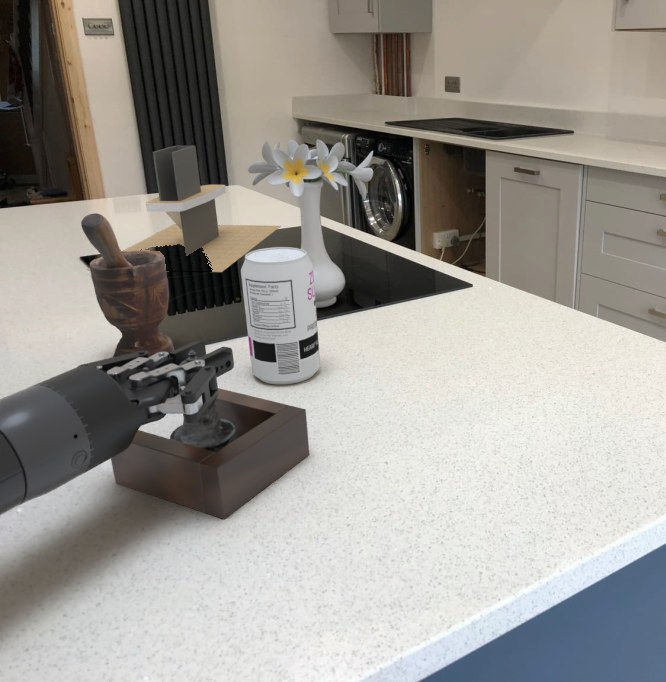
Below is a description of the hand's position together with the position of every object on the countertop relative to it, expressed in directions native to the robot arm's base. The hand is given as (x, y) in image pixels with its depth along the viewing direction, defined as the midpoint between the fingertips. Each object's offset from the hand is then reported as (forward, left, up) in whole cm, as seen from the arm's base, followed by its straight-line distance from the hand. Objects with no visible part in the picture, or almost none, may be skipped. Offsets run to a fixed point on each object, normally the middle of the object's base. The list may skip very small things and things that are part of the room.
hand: (215, 353), depth 69 cm
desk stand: (0, -3, -11) cm, 11 cm away
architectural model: (-65, +62, -11) cm, 90 cm away
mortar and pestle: (-26, +13, -11) cm, 31 cm away
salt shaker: (0, -3, -11) cm, 11 cm away
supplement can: (-7, +18, -11) cm, 22 cm away
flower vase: (-20, +43, -11) cm, 49 cm away
